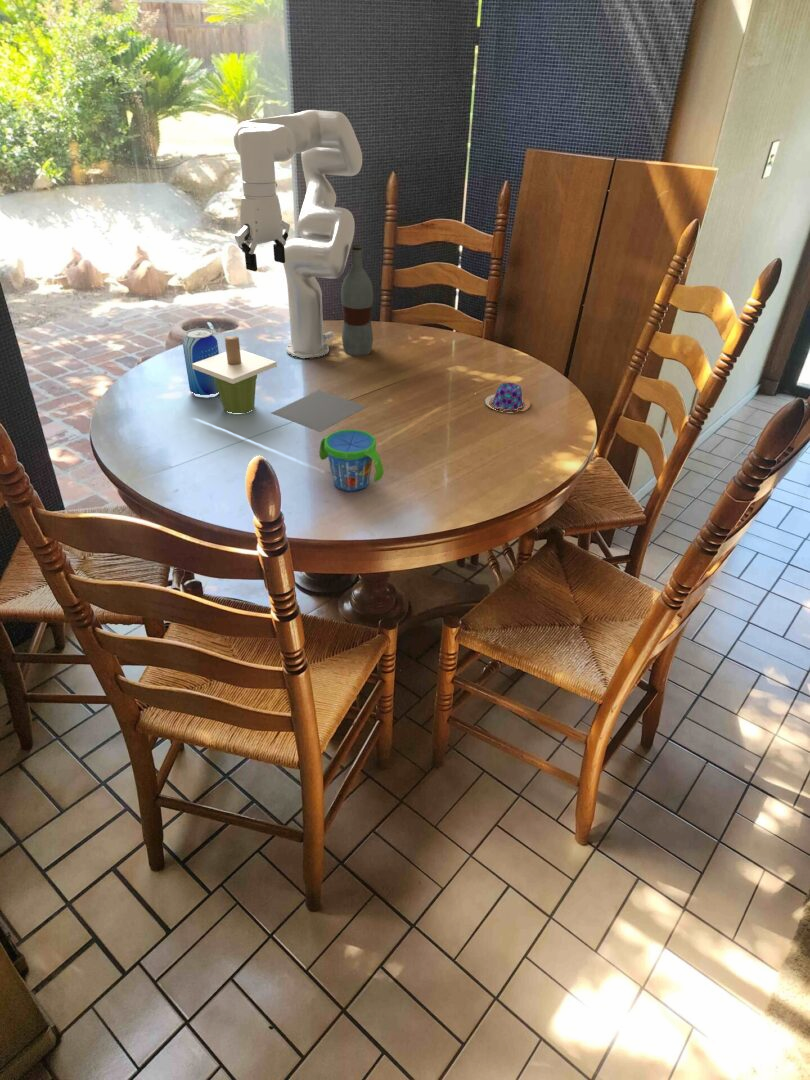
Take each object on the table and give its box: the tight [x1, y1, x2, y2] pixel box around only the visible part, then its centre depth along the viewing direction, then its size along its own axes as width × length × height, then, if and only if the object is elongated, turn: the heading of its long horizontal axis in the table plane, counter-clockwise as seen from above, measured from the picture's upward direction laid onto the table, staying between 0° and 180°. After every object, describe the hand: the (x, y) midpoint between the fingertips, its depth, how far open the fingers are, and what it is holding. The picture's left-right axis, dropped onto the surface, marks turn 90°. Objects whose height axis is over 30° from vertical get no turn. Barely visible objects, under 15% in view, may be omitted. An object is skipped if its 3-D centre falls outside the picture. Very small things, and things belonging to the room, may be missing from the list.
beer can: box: [182, 327, 220, 395], centre depth 179 cm, size 8×8×16 cm
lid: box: [192, 335, 277, 384], centre depth 167 cm, size 14×14×7 cm
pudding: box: [484, 382, 524, 414], centre depth 182 cm, size 12×12×5 cm
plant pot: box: [214, 374, 258, 414], centre depth 172 cm, size 12×12×11 cm
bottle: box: [340, 244, 374, 357], centre depth 202 cm, size 9×9×30 cm
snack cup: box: [318, 429, 384, 492], centre depth 146 cm, size 16×10×10 cm
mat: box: [271, 389, 368, 432], centre depth 176 cm, size 18×16×1 cm
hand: (266, 265), depth 173 cm, fingers open, 9 cm apart
